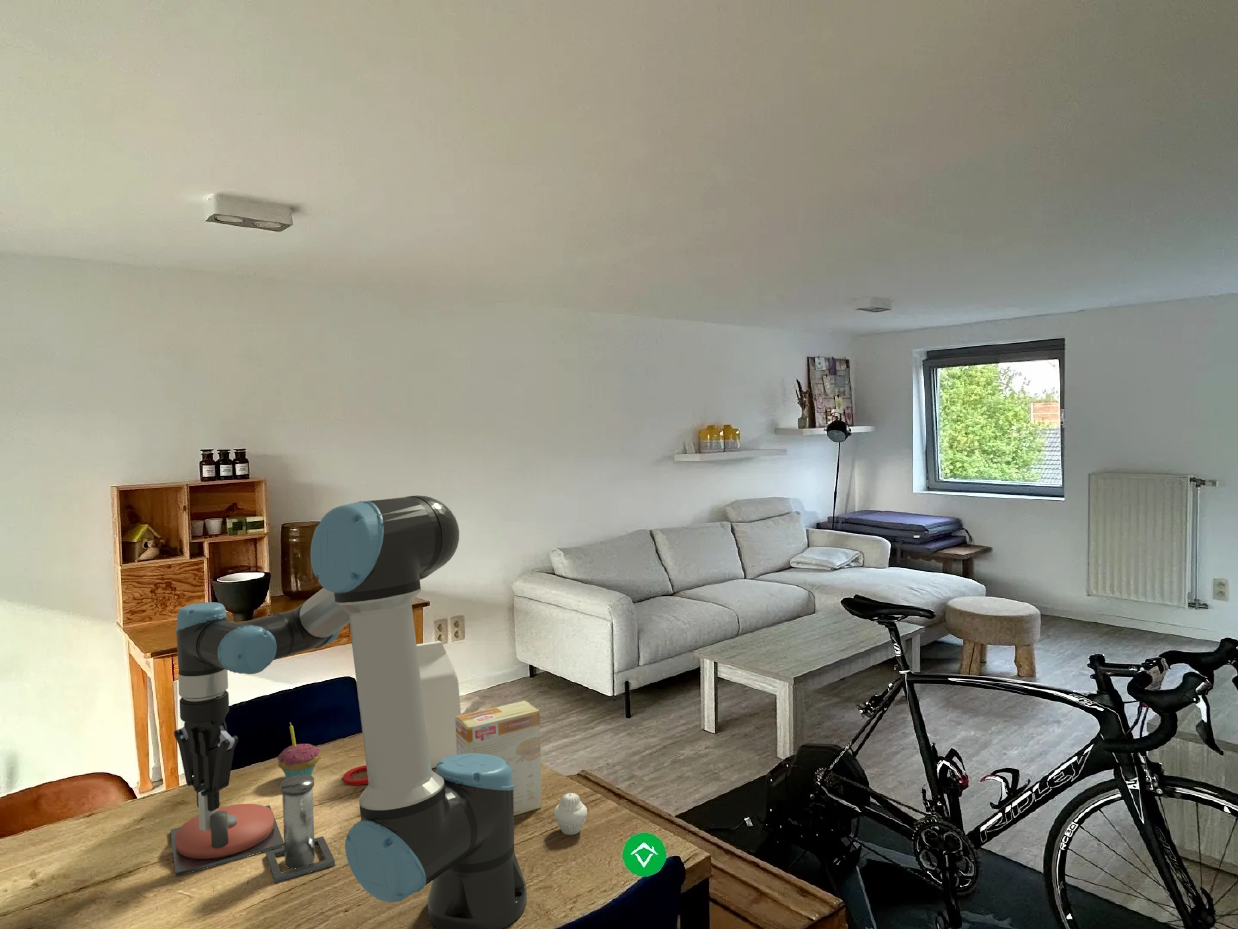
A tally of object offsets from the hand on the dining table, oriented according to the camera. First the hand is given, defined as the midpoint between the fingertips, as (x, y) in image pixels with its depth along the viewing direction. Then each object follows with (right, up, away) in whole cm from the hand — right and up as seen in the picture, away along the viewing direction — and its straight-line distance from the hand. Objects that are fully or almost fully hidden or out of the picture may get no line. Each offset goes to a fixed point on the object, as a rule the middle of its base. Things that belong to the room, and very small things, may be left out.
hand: (209, 826), depth 138 cm
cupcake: (+3, -4, +31) cm, 32 cm away
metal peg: (+16, -6, -1) cm, 17 cm away
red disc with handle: (0, -5, +6) cm, 8 cm away
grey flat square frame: (+16, -6, -1) cm, 17 cm away
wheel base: (0, -5, +6) cm, 8 cm away
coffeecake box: (+48, -4, +16) cm, 51 cm away
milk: (+29, -3, +41) cm, 50 cm away
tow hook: (+17, -4, +31) cm, 36 cm away
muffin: (+63, -5, +8) cm, 63 cm away
